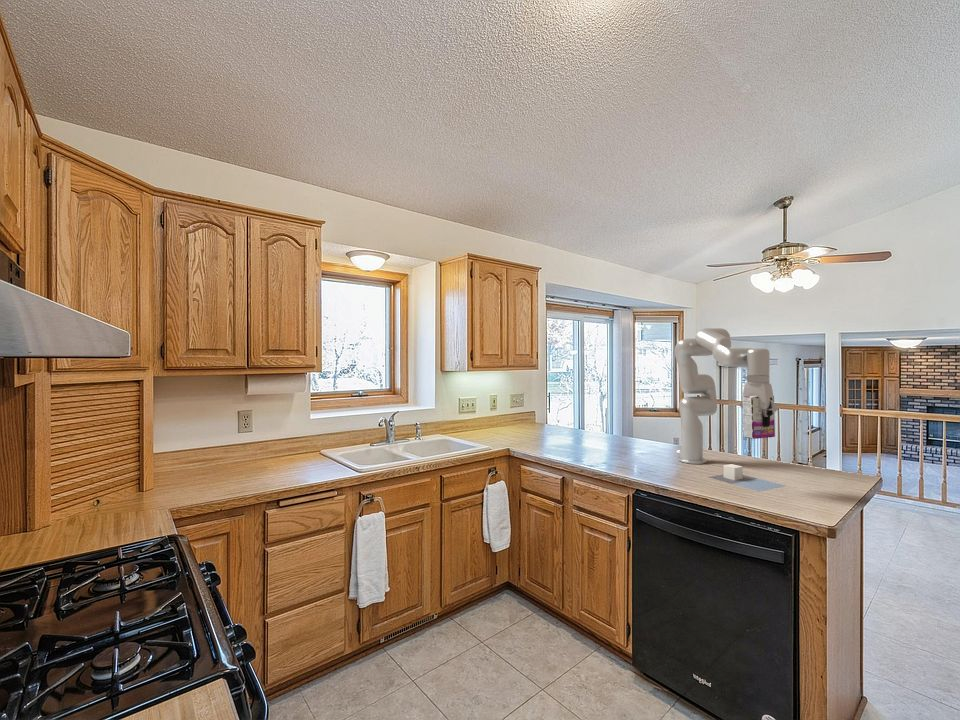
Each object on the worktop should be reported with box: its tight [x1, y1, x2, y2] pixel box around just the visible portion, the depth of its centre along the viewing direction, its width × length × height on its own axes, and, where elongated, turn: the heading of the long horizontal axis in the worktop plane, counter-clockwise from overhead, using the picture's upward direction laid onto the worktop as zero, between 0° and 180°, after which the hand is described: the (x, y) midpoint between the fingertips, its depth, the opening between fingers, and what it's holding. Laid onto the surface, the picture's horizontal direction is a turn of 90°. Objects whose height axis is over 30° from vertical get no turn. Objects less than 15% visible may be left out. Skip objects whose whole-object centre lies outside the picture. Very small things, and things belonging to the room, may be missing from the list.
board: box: [708, 473, 786, 492], centre depth 184 cm, size 22×16×1 cm
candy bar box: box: [741, 395, 776, 440], centre depth 178 cm, size 11×5×16 cm, turn 106°
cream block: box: [722, 463, 744, 480], centre depth 189 cm, size 5×5×5 cm
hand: (758, 425), depth 178 cm, fingers closed on candy bar box, 5 cm apart
